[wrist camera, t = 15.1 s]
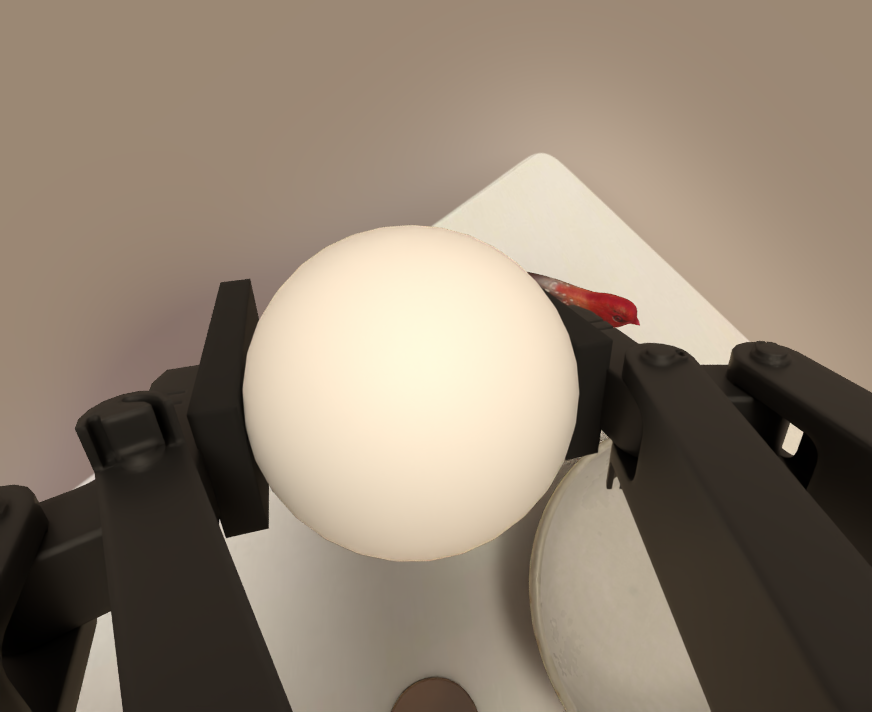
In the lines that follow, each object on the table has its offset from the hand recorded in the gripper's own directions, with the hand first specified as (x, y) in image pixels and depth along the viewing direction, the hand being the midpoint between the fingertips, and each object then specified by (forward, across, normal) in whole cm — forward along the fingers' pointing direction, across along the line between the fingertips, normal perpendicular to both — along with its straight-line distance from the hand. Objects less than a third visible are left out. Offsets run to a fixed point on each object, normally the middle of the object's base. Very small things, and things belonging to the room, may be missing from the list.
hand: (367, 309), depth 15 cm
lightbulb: (0, 0, -5) cm, 5 cm away
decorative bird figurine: (+35, +23, -18) cm, 45 cm away
